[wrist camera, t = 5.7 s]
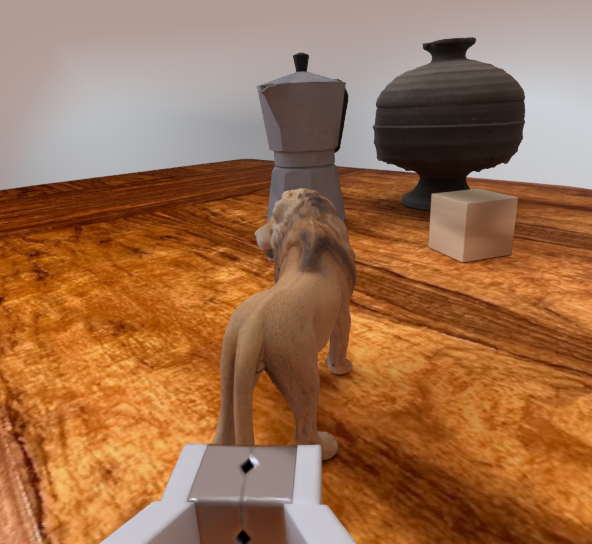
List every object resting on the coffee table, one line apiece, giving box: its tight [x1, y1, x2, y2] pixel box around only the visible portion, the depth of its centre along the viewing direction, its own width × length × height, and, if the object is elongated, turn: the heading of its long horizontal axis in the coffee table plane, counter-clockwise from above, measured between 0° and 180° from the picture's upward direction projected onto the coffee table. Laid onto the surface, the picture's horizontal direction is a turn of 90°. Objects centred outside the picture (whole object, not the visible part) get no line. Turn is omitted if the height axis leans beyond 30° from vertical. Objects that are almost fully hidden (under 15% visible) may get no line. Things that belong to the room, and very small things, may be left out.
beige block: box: [429, 189, 518, 263], centre depth 40 cm, size 5×5×5 cm
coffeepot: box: [257, 53, 348, 223], centre depth 51 cm, size 15×9×18 cm, turn 143°
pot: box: [373, 38, 525, 211], centre depth 58 cm, size 18×18×20 cm
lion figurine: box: [212, 188, 356, 460], centre depth 19 cm, size 15×5×9 cm, turn 174°
